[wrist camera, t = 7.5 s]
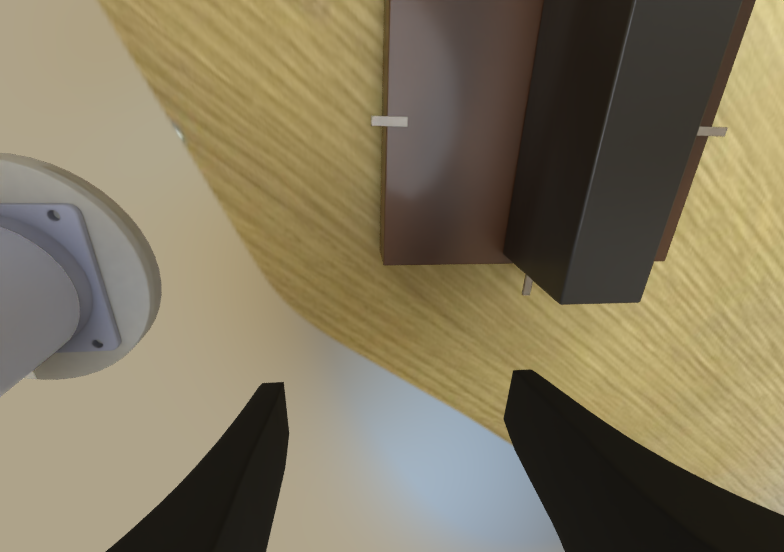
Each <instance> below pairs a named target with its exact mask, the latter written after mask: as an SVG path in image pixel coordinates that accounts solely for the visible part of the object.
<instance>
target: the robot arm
mask: <svg viewBox="0 0 784 552" xmlns="http://www.w3.org/2000/svg"><path fill="white" fill-rule="evenodd" d="M53 211H56V212H58V213H59V215H60V219H58V218H57V217H55V215H54V214H53ZM97 340H100V341H101V342H102V343H103V344H101V343H99V342H98V341H97ZM120 344H121V337H120V334H119V331H118V328H117V324H116V321H115V318H114V315H113V311H112V308H111V305H110V302H109V298H108V295H107V292H106V289H105V286H104V282H103V279H102V276H101V273H100V269H99V266H98V263H97V260H96V257H95V253H94V250H93V247H92V244H91V240H90V237H89V234H88V231H87V228H86V224H85V221H84V218H83V215H82V212H81V211H80V209H79V208H78V207H77V206H75V205H73V204H68V203H0V397H1V396H2V395H3V394H5V393H6V392H7V391H8V390H10V389H11V388H12V387H13V386H14V385H15V384H17V383H18V382H19V381H20V380H22V379H23V378H24V377H25V376H27V375H28V374H29V373H30V372H32V371H33V370H34V369H35V368H36V367H38V366H39V365H40V364H41V363H43V362H44V361H45V360H46V359H47V358H49V357H50V356H51V355H52V354H53V353H64V352H90V351H112V350H115V349H116V348H118V347H119V346H120ZM504 422H505V425H506V427H507V430H508V433H509V436H510V439H511V441H512V444H513V446H514V449H515V451H516V453H517V455H518V457H519V459H520V461H521V463H522V465H523V467H524V469H525V471H526V473H527V475H528V477H529V479H530V481H531V482H532V485H533V487H534V488H535V490H536V492H537V494H538V496H539V498H540V500H541V502H542V504H543V506H544V508H545V510H546V511H547V514H548V516H549V517H550V519H551V521H552V523H553V525H554V527H555V530H556V532H557V534H558V536H559V538H560V540H561V543H562V546H563V548H564V550H565V552H784V516H783V515H781V514H779V513H776V512H774V511H772V510H769V509H767V508H765V507H762V506H760V505H758V504H756V503H753V502H751V501H749V500H746V499H744V498H742V497H740V496H737V495H735V494H733V493H731V492H729V491H727V490H725V489H722V488H720V487H718V486H716V485H714V484H712V483H710V482H708V481H706V480H704V479H702V478H700V477H698V476H696V475H694V474H692V473H690V472H688V471H686V470H684V469H683V468H681V467H679V466H677V465H675V464H673V463H671V462H669V461H668V460H666V459H664V458H662V457H661V456H659V455H657V454H656V453H654V452H652V451H650V450H649V449H647V448H645V447H643V446H642V445H640V444H638V443H637V442H635V441H633V440H632V439H630V438H629V437H627V436H626V435H624V434H622V433H621V432H619V431H618V430H616V429H615V428H613V427H612V426H610V425H609V424H607V423H606V422H604V421H603V420H601V419H600V418H598V417H597V416H595V415H594V414H593V413H591V412H590V411H588V410H587V409H586V408H584V407H583V406H581V405H580V404H579V403H577V402H576V401H574V400H573V399H572V398H570V397H569V396H568V395H566V394H565V393H563V392H562V391H561V390H559V389H558V388H557V387H555V386H554V385H553V384H551V383H550V382H549V381H547V380H546V379H544V378H543V377H542V376H540V375H539V374H537V373H536V372H534V371H533V370H513V374H512V379H511V384H510V389H509V394H508V399H507V404H506V409H505V415H504ZM288 439H289V427H288V419H287V409H286V401H285V391H284V382H277V383H262V384H261V385H260V386H259V388H258V389H257V390H256V392H255V393H254V395H253V396H252V398H251V399H250V400H249V402H248V403H247V404H246V406H245V407H244V409H243V410H242V411H241V413H240V414H239V415H238V416H237V418H236V419H235V420H234V422H233V423H232V424H231V426H230V427H229V428H228V429H227V430H226V432H225V433H224V434H223V435H222V437H221V438H220V439H219V441H218V442H217V443H216V444H215V445H214V446H213V447H212V449H211V450H210V451H209V452H208V453H207V454H206V455H205V457H204V458H203V459H202V460H201V461H200V462H199V463H198V465H197V466H196V467H195V468H194V469H193V470H192V471H191V472H190V473H189V474H188V475H187V477H186V478H185V479H184V480H183V481H182V482H181V483H180V484H179V485H178V486H177V487H176V488H175V489H174V490H173V491H172V492H171V493H170V494H169V495H168V496H167V497H166V498H165V499H164V500H163V501H162V502H161V503H160V504H159V505H158V506H157V507H155V508H154V509H153V510H152V511H151V512H150V513H149V514H148V515H147V516H146V517H145V518H143V519H142V520H141V521H140V522H139V523H138V524H137V525H136V526H135V527H134V528H133V529H131V530H130V531H129V532H128V533H127V534H126V535H125V536H124V537H122V538H121V539H120V540H119V541H118V542H117V543H115V544H114V545H113V546H112V547H111V548H109V549H108V550H107V551H106V552H266V549H267V545H268V540H269V536H270V532H271V527H272V523H273V519H274V514H275V510H276V506H277V501H278V497H279V493H280V488H281V483H282V480H283V475H284V471H285V465H286V456H287V448H288Z"/></svg>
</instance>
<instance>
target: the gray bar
mask: <svg viewBox="0 0 784 552" xmlns="http://www.w3.org/2000/svg"><path fill="white" fill-rule="evenodd" d="M742 1H743V0H544V6H543V12H542V18H541V24H540V30H539V36H538V42H537V48H536V55H535V61H534V67H533V73H532V79H531V85H530V91H529V97H528V104H527V110H526V116H525V122H524V128H523V134H522V140H521V146H520V152H519V159H518V165H517V171H516V177H515V183H514V189H513V195H512V201H511V208H510V214H509V220H508V226H507V232H506V238H505V244H504V250H503V254H504V255H505V256H506V257H507V258H508V259H509V260H510V261H511V262H513V263H514V264H515V265H516V266H517V267H518V268H519V269H520V270H522V271H523V272H524V273H525V274H526V275H527V276H528V277H530V278H531V279H532V280H533V281H534V282H535V283H536V284H537V285H539V286H540V287H541V288H542V289H543V290H544V291H545V292H546V293H548V294H549V295H550V296H551V297H552V298H553V299H554V300H555V301H557V302H558V303H559V304H561V305H564V304H602V303H639V302H640V301H641V298H642V295H643V292H644V289H645V286H646V283H647V280H648V277H649V274H650V271H651V269H652V266H653V263H654V260H655V257H656V254H657V251H658V248H659V245H660V242H661V239H662V236H663V233H664V230H665V227H666V224H667V221H668V219H669V216H670V213H671V210H672V207H673V204H674V201H675V198H676V195H677V192H678V189H679V186H680V183H681V180H682V177H683V174H684V172H685V169H686V166H687V163H688V160H689V157H690V154H691V151H692V148H693V145H694V142H695V139H696V136H697V133H698V130H699V127H700V124H701V122H702V119H703V116H704V113H705V110H706V107H707V104H708V101H709V98H710V95H711V92H712V89H713V86H714V83H715V80H716V77H717V74H718V72H719V69H720V66H721V63H722V60H723V57H724V54H725V51H726V48H727V45H728V42H729V39H730V36H731V33H732V30H733V27H734V25H735V22H736V19H737V16H738V13H739V10H740V7H741V4H742Z"/></svg>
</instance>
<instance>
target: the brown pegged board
mask: <svg viewBox="0 0 784 552" xmlns="http://www.w3.org/2000/svg"><path fill="white" fill-rule="evenodd" d="M755 1H756V0H743V1H742V4H741V7H740V10H739V13H738V16H737V19H736V22H735V25H734V27H733V30H732V33H731V36H730V39H729V42H728V45H727V48H726V51H725V54H724V57H723V60H722V63H721V66H720V69H719V72H718V74H717V77H716V80H715V83H714V86H713V89H712V92H711V95H710V98H709V101H708V104H707V107H706V110H705V113H704V116H703V119H702V122H701V124H700V127H699V130H698V133H697V136H696V139H695V142H694V145H693V148H692V151H691V154H690V157H689V160H688V163H687V166H686V169H685V172H684V174H683V177H682V180H681V183H680V186H679V189H678V192H677V195H676V198H675V201H674V204H673V207H672V210H671V213H670V216H669V219H668V221H667V224H666V227H665V230H664V233H663V236H662V239H661V242H660V245H659V248H658V251H657V254H656V257H655V260H654V261H665V259H666V256H667V253H668V250H669V247H670V244H671V241H672V238H673V236H674V233H675V230H676V227H677V224H678V221H679V218H680V216H681V213H682V210H683V207H684V204H685V201H686V198H687V196H688V193H689V190H690V187H691V184H692V181H693V178H694V176H695V173H696V170H697V167H698V164H699V161H700V158H701V156H702V153H703V150H704V147H705V144H706V141H707V138H708V136H725V134H726V131H727V127H712V124H713V121H714V118H715V115H716V113H717V110H718V107H719V104H720V101H721V98H722V95H723V93H724V90H725V87H726V84H727V81H728V78H729V75H730V73H731V70H732V67H733V64H734V61H735V58H736V55H737V52H738V50H739V47H740V44H741V41H742V38H743V35H744V32H745V30H746V27H747V24H748V21H749V18H750V15H751V12H752V10H753V7H754V4H755ZM543 6H544V0H384V40H383V95H382V116H371V126H382V150H381V205H380V253H381V257H382V261H383V265H441V264H507V263H513V262H511V261H510V260H509V259H508V258H507V257H506V256H505V255H504V254H503V250H504V244H505V238H506V232H507V226H508V220H509V214H510V208H511V201H512V195H513V189H514V183H515V177H516V171H517V165H518V159H519V152H520V146H521V140H522V134H523V128H524V122H525V116H526V110H527V104H528V97H529V91H530V85H531V79H532V73H533V67H534V61H535V55H536V48H537V42H538V36H539V30H540V24H541V18H542V12H543ZM532 282H533V280H532V279H531V278H530V277H528V276H527V275H526V274H525V279H524V284H523V290H522V295H530V292H531V287H532Z"/></svg>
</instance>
